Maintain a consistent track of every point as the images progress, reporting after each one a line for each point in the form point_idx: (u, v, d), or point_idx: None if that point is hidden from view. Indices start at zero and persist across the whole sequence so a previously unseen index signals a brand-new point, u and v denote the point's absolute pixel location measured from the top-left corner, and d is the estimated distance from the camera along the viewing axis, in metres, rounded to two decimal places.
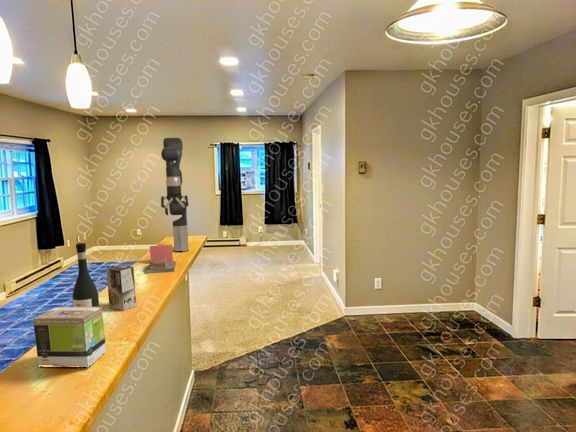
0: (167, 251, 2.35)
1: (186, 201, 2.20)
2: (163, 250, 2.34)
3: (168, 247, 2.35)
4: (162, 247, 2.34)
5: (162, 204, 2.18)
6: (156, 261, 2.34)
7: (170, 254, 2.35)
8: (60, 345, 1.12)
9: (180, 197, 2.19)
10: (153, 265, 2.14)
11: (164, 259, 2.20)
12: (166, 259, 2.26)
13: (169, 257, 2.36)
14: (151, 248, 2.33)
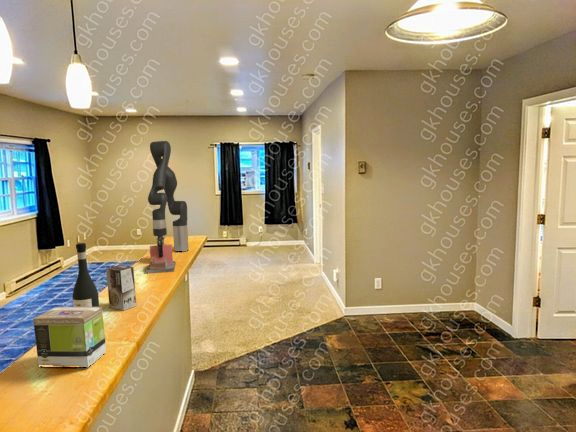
0: (167, 251, 2.35)
1: None
2: (163, 250, 2.34)
3: (168, 247, 2.35)
4: None
5: (162, 247, 2.31)
6: (156, 261, 2.34)
7: (170, 254, 2.35)
8: (60, 345, 1.12)
9: None
10: (153, 265, 2.14)
11: (164, 259, 2.20)
12: (166, 259, 2.26)
13: (169, 257, 2.36)
14: (151, 248, 2.33)
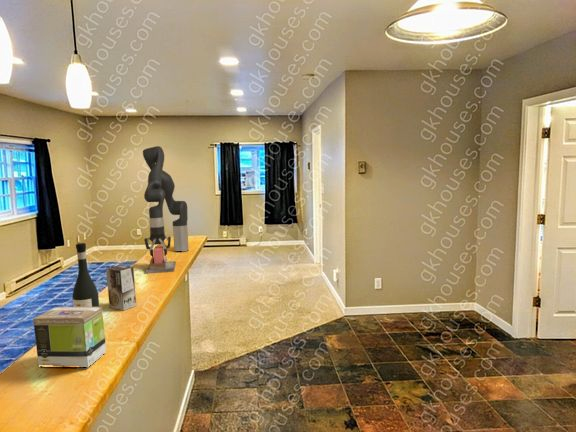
0: (163, 252, 2.26)
1: None
2: (162, 251, 2.23)
3: (162, 247, 2.26)
4: (162, 248, 2.23)
5: None
6: None
7: (163, 254, 2.27)
8: (60, 345, 1.12)
9: None
10: (153, 265, 2.14)
11: (164, 259, 2.20)
12: (166, 259, 2.26)
13: (163, 257, 2.27)
14: (161, 251, 2.17)
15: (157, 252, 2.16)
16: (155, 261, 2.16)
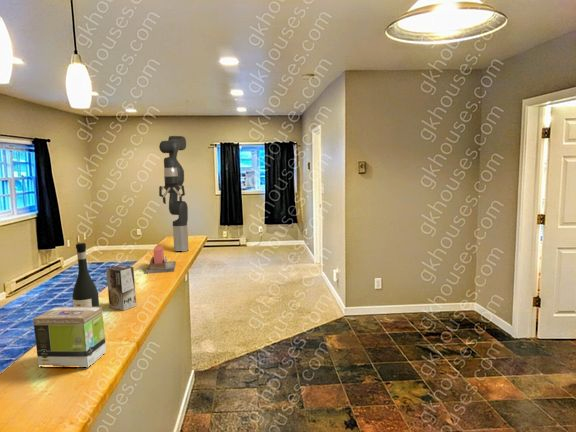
0: (163, 252, 2.26)
1: None
2: (162, 251, 2.23)
3: (162, 247, 2.26)
4: (162, 248, 2.23)
5: None
6: None
7: (163, 254, 2.27)
8: (60, 345, 1.12)
9: None
10: (153, 265, 2.14)
11: (164, 259, 2.20)
12: (166, 259, 2.26)
13: (163, 257, 2.27)
14: (161, 251, 2.17)
15: (157, 252, 2.16)
16: (155, 261, 2.16)
